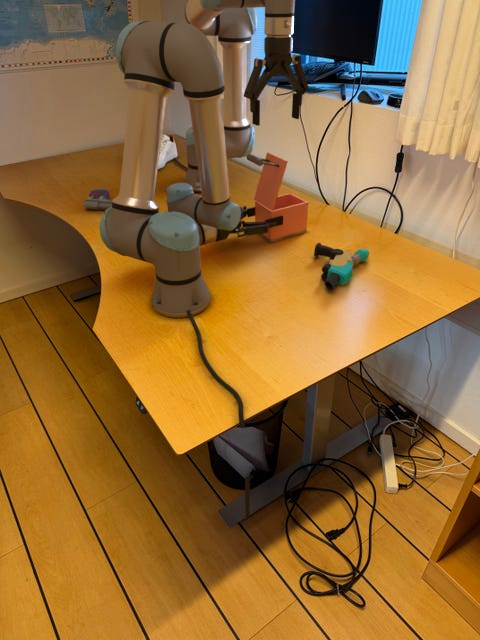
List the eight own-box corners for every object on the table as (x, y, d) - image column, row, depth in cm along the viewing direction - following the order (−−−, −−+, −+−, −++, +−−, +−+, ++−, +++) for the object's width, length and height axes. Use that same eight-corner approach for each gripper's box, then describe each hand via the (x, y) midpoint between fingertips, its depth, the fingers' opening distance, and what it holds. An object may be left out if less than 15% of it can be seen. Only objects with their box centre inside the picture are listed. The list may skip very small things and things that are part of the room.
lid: (269, 152, 147) (245, 147, 142) (287, 161, 140) (263, 156, 135) (256, 199, 154) (232, 196, 148) (273, 210, 147) (249, 207, 142)
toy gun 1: (141, 199, 183) (126, 215, 172) (96, 196, 186) (78, 211, 175) (140, 189, 181) (124, 205, 169) (94, 186, 184) (76, 201, 172)
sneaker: (133, 173, 208) (129, 144, 201) (161, 153, 230) (158, 127, 223) (155, 175, 205) (151, 146, 198) (180, 155, 227) (178, 129, 220)
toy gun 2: (291, 271, 128) (345, 285, 123) (324, 234, 147) (372, 245, 141) (290, 285, 131) (343, 299, 125) (322, 247, 150) (369, 258, 144)
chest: (289, 221, 166) (290, 192, 159) (306, 232, 159) (308, 202, 152) (254, 231, 160) (255, 201, 154) (270, 242, 153) (271, 211, 147)
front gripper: (197, 227, 155) (255, 213, 164) (230, 255, 139) (292, 237, 148) (195, 205, 151) (255, 192, 160) (229, 232, 135) (294, 215, 144)
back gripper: (245, 40, 117) (245, 130, 129) (325, 34, 127) (318, 118, 139) (230, 37, 122) (232, 124, 135) (308, 32, 132) (303, 113, 145)
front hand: (273, 214), depth 154 cm, fingers closed on chest, 10 cm apart
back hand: (276, 121), depth 137 cm, fingers open, 13 cm apart
